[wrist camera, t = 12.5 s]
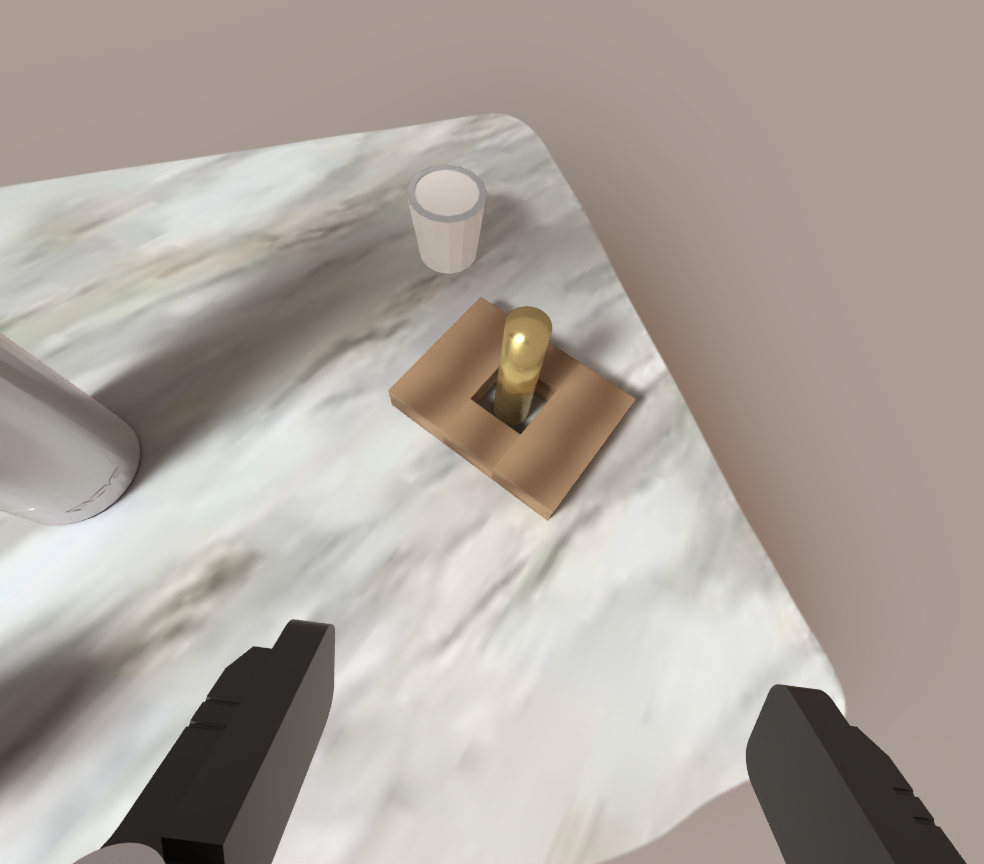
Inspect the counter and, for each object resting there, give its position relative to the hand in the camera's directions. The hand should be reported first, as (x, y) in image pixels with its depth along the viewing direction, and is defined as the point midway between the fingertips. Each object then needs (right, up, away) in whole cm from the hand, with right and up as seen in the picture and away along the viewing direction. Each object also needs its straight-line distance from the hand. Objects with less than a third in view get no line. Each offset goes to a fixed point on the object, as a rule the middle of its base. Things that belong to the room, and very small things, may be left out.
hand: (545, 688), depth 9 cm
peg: (+1, +7, +34) cm, 35 cm away
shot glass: (-5, +22, +41) cm, 47 cm away
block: (+1, +7, +34) cm, 35 cm away
